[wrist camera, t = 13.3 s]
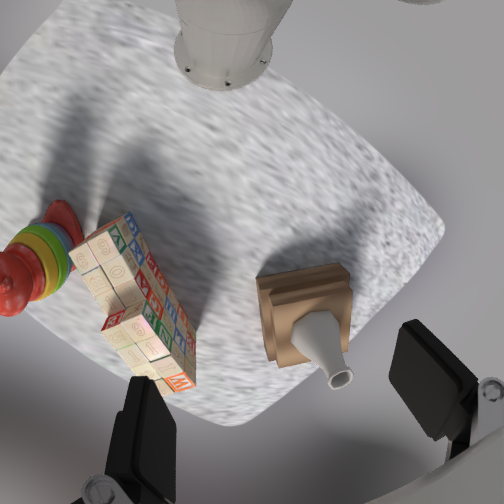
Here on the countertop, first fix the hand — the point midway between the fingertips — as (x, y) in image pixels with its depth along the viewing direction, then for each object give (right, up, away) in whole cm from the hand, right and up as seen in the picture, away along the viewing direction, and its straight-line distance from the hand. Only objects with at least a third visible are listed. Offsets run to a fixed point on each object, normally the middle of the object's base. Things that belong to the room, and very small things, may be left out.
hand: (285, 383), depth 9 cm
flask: (+7, -6, +29) cm, 30 cm away
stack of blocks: (-17, 0, +30) cm, 35 cm away
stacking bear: (-30, +6, +26) cm, 40 cm away
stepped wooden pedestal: (+6, -4, +35) cm, 36 cm away
